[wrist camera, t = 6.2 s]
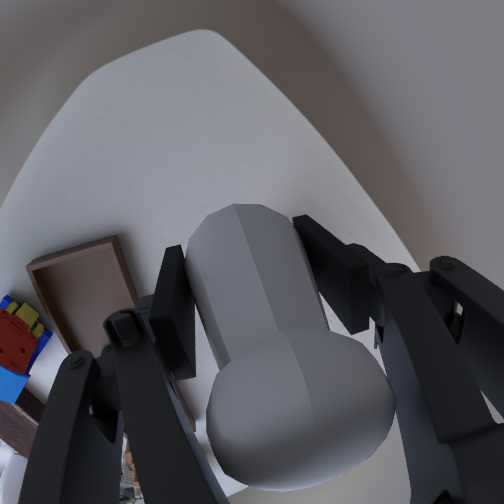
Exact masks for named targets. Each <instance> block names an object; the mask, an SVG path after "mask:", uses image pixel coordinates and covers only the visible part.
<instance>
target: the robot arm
mask: <svg viewBox="0 0 504 504" xmlns="http://www.w3.org/2000/svg"><path fill="white" fill-rule="evenodd" d="M292 219H293V225H294V228H295V229H296V231H297V232H298V234H299V235H300V237H301V238H302V241H303V244H304V247H305V250H306V253H307V256H308V259H309V262H310V265H311V269H312V272H313V275H314V278H315V281H316V285H317V288H318V291H319V292H320V293H321V295H322V296H323V298H324V299H325V300H326V302H327V303H328V304H329V306H330V307H331V308H332V310H333V311H334V312H335V314H336V315H337V317H338V318H339V319H340V321H341V322H342V323H343V325H344V326H345V328H346V329H347V330H348V332H349V333H350V334H351V335H353V334H356V333H359V332H362V331H365V330H368V329H369V316H370V317H371V318H372V319H373V321H374V322H375V340H374V349H377V344H378V346H379V349H380V353H381V356H382V360H383V363H384V367H385V371H386V374H387V378H388V380H389V382H390V385H391V387H392V389H393V392H394V394H395V397H396V399H397V405H396V414H397V419H398V423H399V428H400V433H401V437H402V442H403V447H404V452H405V457H406V462H407V468H408V474H409V480H410V485H411V499H410V504H504V423H501V424H498V423H496V422H495V421H494V419H493V418H492V415H491V413H490V411H489V409H488V406H487V404H486V402H485V400H484V398H483V395H482V393H481V391H482V392H483V393H484V395H485V396H486V397H487V398H488V400H489V401H490V402H491V403H492V405H493V406H494V407H495V408H496V410H497V411H498V412H499V413H500V415H501V416H502V417H503V419H504V291H503V290H502V289H501V288H499V287H498V286H496V285H495V284H494V283H492V282H491V281H489V280H488V279H486V278H485V277H484V276H482V275H481V274H479V273H478V272H476V271H475V270H473V269H472V268H470V267H469V266H467V265H466V264H464V263H463V262H461V261H460V260H457V259H456V258H452V257H449V256H441V257H436V258H434V259H432V260H431V261H430V269H429V271H424V272H416V273H413V272H412V270H411V269H410V268H409V267H408V266H406V265H404V264H400V263H386V262H384V261H383V260H382V259H380V258H379V257H378V256H376V255H374V253H372V252H371V251H369V250H368V249H367V248H365V247H364V246H362V245H358V244H355V243H352V244H349V245H345V244H344V243H343V242H341V241H340V240H339V239H338V238H336V237H335V236H334V235H332V234H331V233H330V232H329V231H327V230H326V229H325V228H324V227H322V226H321V225H320V224H318V223H317V222H316V221H314V220H313V219H312V218H311V217H309V216H308V215H307V214H306V215H301V216H297V217H292ZM184 262H185V258H184V255H183V251H182V248H181V244H180V245H176V246H172V247H168V248H166V250H165V254H164V258H163V261H162V265H161V269H160V273H159V277H158V281H157V284H156V288H155V293H154V294H151V295H147V296H143V297H141V298H140V299H139V300H138V302H137V303H136V304H135V307H134V308H125V309H121V310H118V311H116V312H114V313H112V314H111V315H110V316H108V317H107V318H106V319H105V321H104V322H103V325H102V326H103V328H104V330H105V332H106V334H107V336H108V338H109V340H110V342H111V344H112V346H113V351H112V352H110V353H107V354H105V355H103V356H100V357H97V358H94V356H93V354H92V353H91V351H89V350H79V351H75V352H73V353H72V354H69V355H68V356H67V357H66V358H65V359H64V360H63V362H62V363H61V365H60V368H59V370H58V373H57V375H56V378H55V380H54V383H53V386H52V388H51V391H50V393H49V396H48V399H47V402H46V405H45V407H44V410H43V413H42V416H41V419H40V422H39V425H38V428H37V431H36V435H35V438H34V441H33V444H32V448H31V451H30V455H29V458H28V462H27V466H26V470H25V474H24V478H23V482H22V486H21V491H20V495H19V500H18V504H120V475H121V458H122V445H123V433H124V424H125V429H126V433H127V438H128V442H129V447H130V451H131V455H132V459H133V463H134V467H135V471H136V475H137V478H138V482H139V486H140V489H141V492H142V496H143V499H144V502H145V504H230V503H229V501H228V499H227V497H226V496H225V494H224V492H223V490H222V488H221V486H220V485H219V483H218V481H217V479H216V477H215V475H214V473H213V471H212V469H211V467H210V465H209V463H208V461H207V459H206V457H205V455H204V453H203V451H202V449H201V447H200V445H199V443H198V440H197V438H196V436H195V434H194V432H193V430H192V427H191V425H190V423H189V421H188V418H187V416H186V414H185V411H184V409H183V407H182V404H181V402H180V400H179V397H178V395H177V392H176V390H175V387H174V386H173V384H172V382H171V380H170V376H171V372H172V374H173V376H174V378H175V380H176V381H178V380H183V379H188V378H193V377H196V357H195V301H194V298H193V295H192V292H191V289H190V286H189V282H188V279H187V275H186V272H185V268H184ZM458 303H459V304H460V305H461V306H462V307H463V310H462V314H461V315H460V314H458V313H457V306H458ZM480 390H481V391H480Z"/></svg>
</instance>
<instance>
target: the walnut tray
mask: <svg viewBox="0 0 504 504" xmlns="http://www.w3.org/2000/svg"><path fill="white" fill-rule="evenodd" d="M26 269H27V272H28V274H29V276H30V279H31V281H32V284H33V286H34V288H35V290H36V293H37V295H38V297H39V299H40V301H41V303H42V306H43V308H44V310H45V312H46V314H47V316H48V318H49V320H50V322H51V324H52V326H53V328H54V330H55V331H56V333H57V335H58V337H59V339H60V341H61V343H62V344H63V346H64V348H65V350H66V351H67V353H68V355H69V354H72V353H73V352H75V351H79V350H89V351H91V353H92V354H93V356H94V358H97V357H99V356H100V354H101V351H102V349H103V348H104V347H105V346H107V345H109V344H111V342H110V340H109V338H108V336H107V334H106V332H105V330H104V328H103V326H102V325H103V322H104V321H105V319H106V318H107V317H108V316H110V315H111V314H112V313H114V312H116V311H118V310H121V309H125V308H134V307H135V304H136V303H137V302H138V300H139V298H138V296H137V293H136V290H135V288H134V285H133V282H132V280H131V277H130V274H129V271H128V268H127V266H126V263H125V260H124V257H123V254H122V251H121V248H120V245H119V242H118V239H117V236H116V235H115V236H111V237H108V238H104V239H101V240H97V241H94V242H90V243H87V244H83V245H80V246H77V247H73V248H70V249H66V250H63V251H60V252H57V253H53V254H50V255H47V256H44V257H40V258H37V259H34V260H32V261H31V262H30V263H29V264H28V265H27V266H26ZM170 380H171V382H172V384H173V386H174V387H175V390H176V392H177V395H178V397H179V400H180V402H181V404H182V407H183V409H184V411H185V414H186V416H187V418H188V421H189V423H190V425H191V427H192V430H193V432H196V425H195V420H194V418H193V416H192V414H191V413H190V411H189V409H188V407H187V405H186V403H185V401H184V399H183V397H182V395H181V393H180V391H179V389H178V387H177V385H176V383H175V381H174V379H173V377H172V375H171V376H170ZM123 436H124V437H125V438H126V439H127V433H126V429H125V424H124V433H123Z"/></svg>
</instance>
